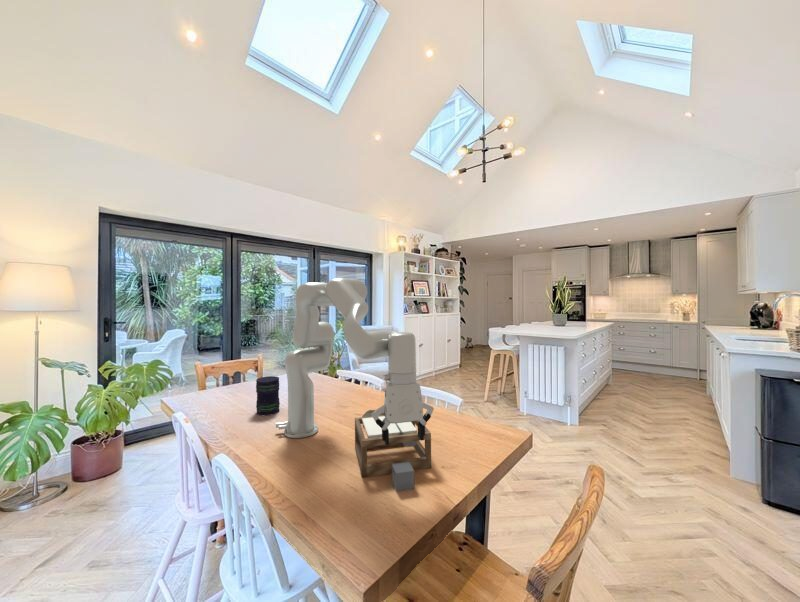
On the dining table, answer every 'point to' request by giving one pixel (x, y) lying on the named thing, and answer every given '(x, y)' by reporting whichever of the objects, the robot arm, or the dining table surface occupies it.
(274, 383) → the storage jar
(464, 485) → the dining table surface
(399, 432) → the hatch leaf
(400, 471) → the basalt block
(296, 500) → the dining table surface
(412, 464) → the walnut hatch frame
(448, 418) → the dining table surface
